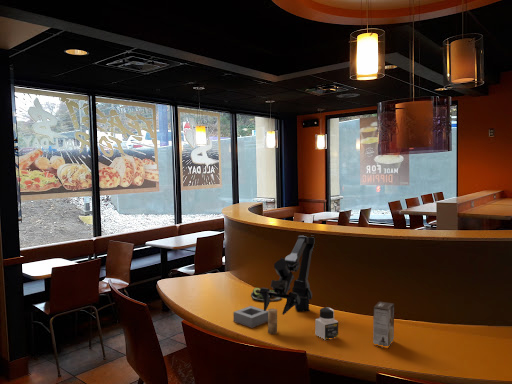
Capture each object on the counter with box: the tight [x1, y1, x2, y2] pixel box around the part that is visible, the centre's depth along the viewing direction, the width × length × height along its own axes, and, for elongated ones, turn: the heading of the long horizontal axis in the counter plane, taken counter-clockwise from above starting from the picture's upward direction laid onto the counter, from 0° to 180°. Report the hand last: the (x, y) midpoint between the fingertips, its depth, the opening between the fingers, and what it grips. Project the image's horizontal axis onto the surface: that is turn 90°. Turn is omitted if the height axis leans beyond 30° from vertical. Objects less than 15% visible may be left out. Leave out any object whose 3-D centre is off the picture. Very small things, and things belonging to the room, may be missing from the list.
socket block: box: [233, 305, 268, 329], centre depth 188 cm, size 12×12×4 cm
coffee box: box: [372, 301, 395, 346], centre depth 163 cm, size 9×6×16 cm
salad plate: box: [250, 287, 282, 303], centre depth 226 cm, size 19×18×5 cm
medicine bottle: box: [314, 307, 339, 341], centre depth 170 cm, size 7×7×12 cm
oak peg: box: [267, 308, 278, 335], centre depth 174 cm, size 4×4×10 cm
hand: (273, 312), depth 175 cm, fingers open, 9 cm apart
